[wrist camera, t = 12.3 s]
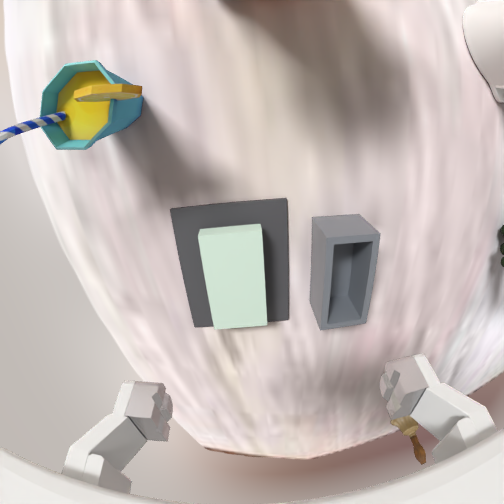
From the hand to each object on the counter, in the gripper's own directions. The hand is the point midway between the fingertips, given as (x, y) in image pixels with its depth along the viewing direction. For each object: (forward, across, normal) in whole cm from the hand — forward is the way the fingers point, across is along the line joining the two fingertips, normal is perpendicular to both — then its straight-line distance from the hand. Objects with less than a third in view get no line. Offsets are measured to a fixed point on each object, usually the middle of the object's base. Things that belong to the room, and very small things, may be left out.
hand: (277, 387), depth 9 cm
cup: (+25, +14, -12) cm, 31 cm away
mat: (+25, +3, +10) cm, 27 cm away
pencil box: (+25, -9, +10) cm, 28 cm away
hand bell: (+26, -35, +59) cm, 73 cm away
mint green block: (+24, +3, +10) cm, 26 cm away
